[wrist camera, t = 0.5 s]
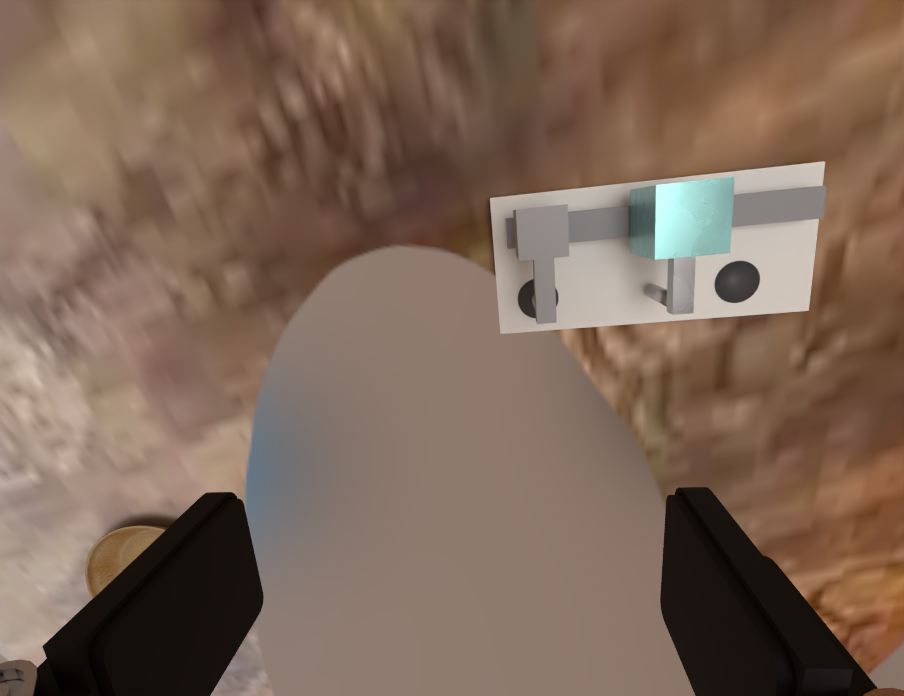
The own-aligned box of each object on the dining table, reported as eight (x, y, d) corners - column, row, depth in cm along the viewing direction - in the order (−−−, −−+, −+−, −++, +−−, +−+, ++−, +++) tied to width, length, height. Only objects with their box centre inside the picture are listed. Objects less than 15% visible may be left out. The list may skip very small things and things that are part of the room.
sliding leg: (622, 191, 31) (656, 185, 25) (684, 184, 31) (734, 176, 24) (622, 299, 33) (653, 320, 27) (680, 294, 33) (726, 314, 26)
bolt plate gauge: (490, 198, 34) (488, 194, 27) (810, 163, 32) (902, 149, 24) (499, 329, 37) (501, 357, 30) (795, 306, 34) (875, 331, 27)
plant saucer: (139, 482, 45) (118, 498, 42) (269, 563, 46) (256, 583, 43) (85, 578, 49) (63, 598, 46) (206, 650, 50) (190, 673, 47)
